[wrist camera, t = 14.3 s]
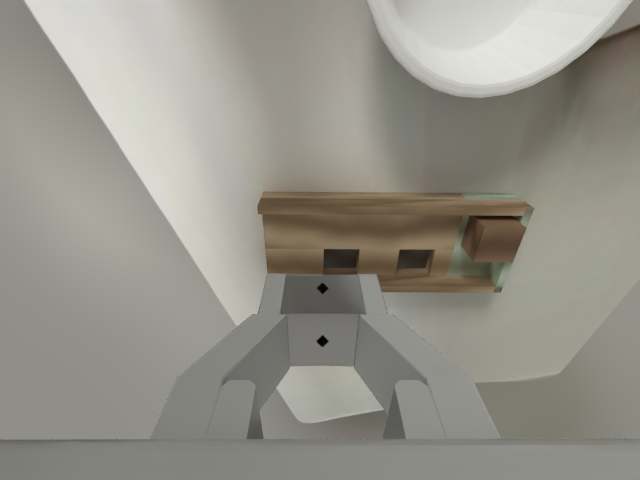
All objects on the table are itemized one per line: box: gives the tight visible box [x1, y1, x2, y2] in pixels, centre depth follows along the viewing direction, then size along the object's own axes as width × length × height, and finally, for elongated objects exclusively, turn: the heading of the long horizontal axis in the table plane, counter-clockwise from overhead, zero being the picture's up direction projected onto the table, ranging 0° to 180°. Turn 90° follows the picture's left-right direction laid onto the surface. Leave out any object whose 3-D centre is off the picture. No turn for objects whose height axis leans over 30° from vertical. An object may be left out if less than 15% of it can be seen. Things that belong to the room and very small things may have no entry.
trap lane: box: [258, 192, 534, 292], centre depth 42 cm, size 13×33×4 cm, turn 89°
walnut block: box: [461, 215, 526, 262], centre depth 40 cm, size 5×5×4 cm
